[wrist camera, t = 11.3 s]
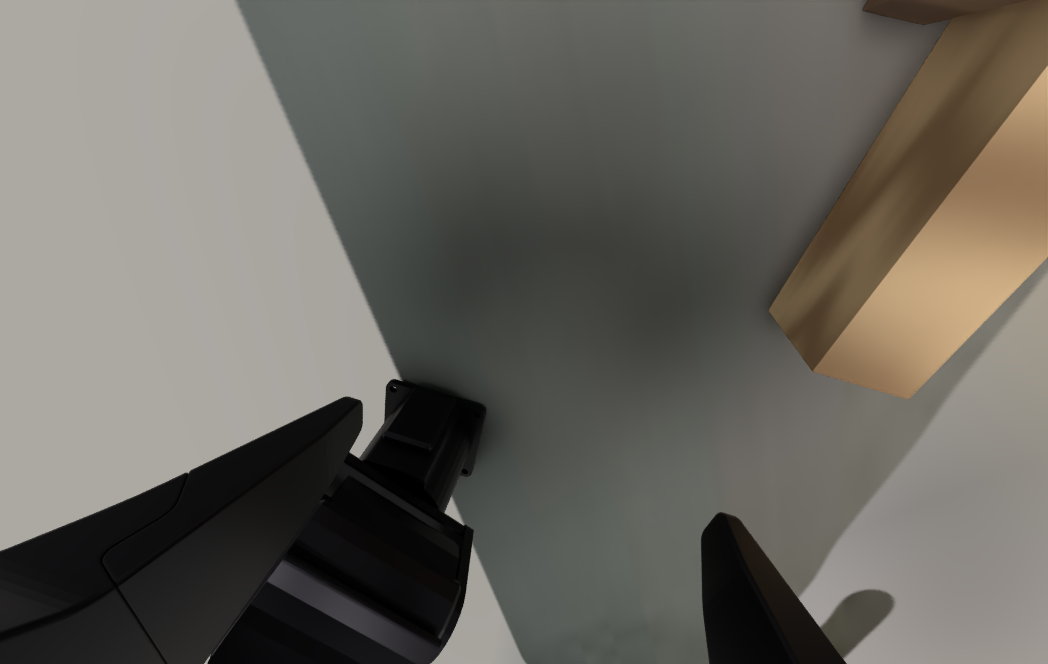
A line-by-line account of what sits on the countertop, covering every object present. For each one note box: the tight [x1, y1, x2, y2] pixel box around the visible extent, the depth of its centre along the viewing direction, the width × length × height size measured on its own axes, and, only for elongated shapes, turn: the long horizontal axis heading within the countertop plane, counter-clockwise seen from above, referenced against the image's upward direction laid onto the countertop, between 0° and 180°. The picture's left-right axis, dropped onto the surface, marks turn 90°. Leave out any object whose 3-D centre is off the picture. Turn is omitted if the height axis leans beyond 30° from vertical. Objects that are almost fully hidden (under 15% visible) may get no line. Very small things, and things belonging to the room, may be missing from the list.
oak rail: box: [768, 0, 1048, 399], centre depth 13 cm, size 14×4×5 cm, turn 168°
